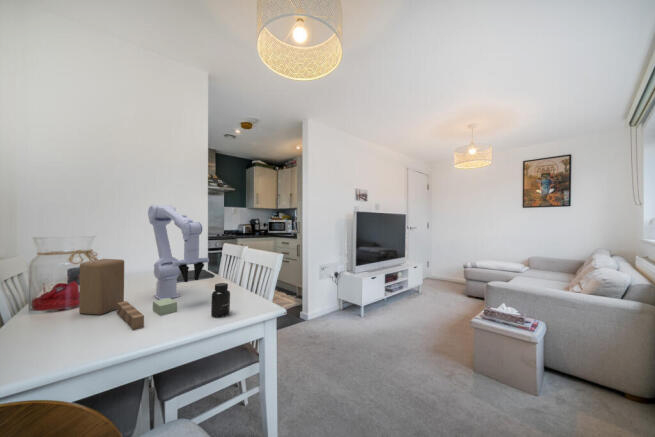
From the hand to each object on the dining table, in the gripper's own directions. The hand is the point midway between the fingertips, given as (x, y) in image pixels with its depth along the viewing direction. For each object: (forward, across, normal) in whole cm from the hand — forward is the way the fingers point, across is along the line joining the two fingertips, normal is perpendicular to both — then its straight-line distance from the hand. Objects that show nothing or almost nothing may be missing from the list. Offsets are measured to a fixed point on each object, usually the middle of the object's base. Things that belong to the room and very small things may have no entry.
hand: (191, 280), depth 108 cm
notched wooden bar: (+10, -22, 0) cm, 24 cm away
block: (+11, -26, +19) cm, 34 cm away
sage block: (+11, -10, 0) cm, 15 cm away
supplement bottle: (+11, +3, -20) cm, 23 cm away
